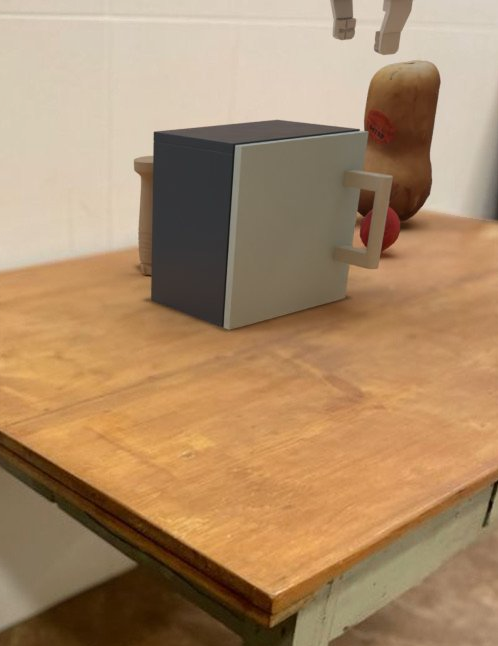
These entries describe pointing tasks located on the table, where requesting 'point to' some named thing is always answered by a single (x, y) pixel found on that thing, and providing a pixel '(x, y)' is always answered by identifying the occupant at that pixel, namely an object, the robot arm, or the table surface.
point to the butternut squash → (401, 133)
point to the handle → (145, 212)
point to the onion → (389, 232)
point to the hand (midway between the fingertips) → (363, 45)
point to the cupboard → (202, 209)
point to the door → (298, 224)
